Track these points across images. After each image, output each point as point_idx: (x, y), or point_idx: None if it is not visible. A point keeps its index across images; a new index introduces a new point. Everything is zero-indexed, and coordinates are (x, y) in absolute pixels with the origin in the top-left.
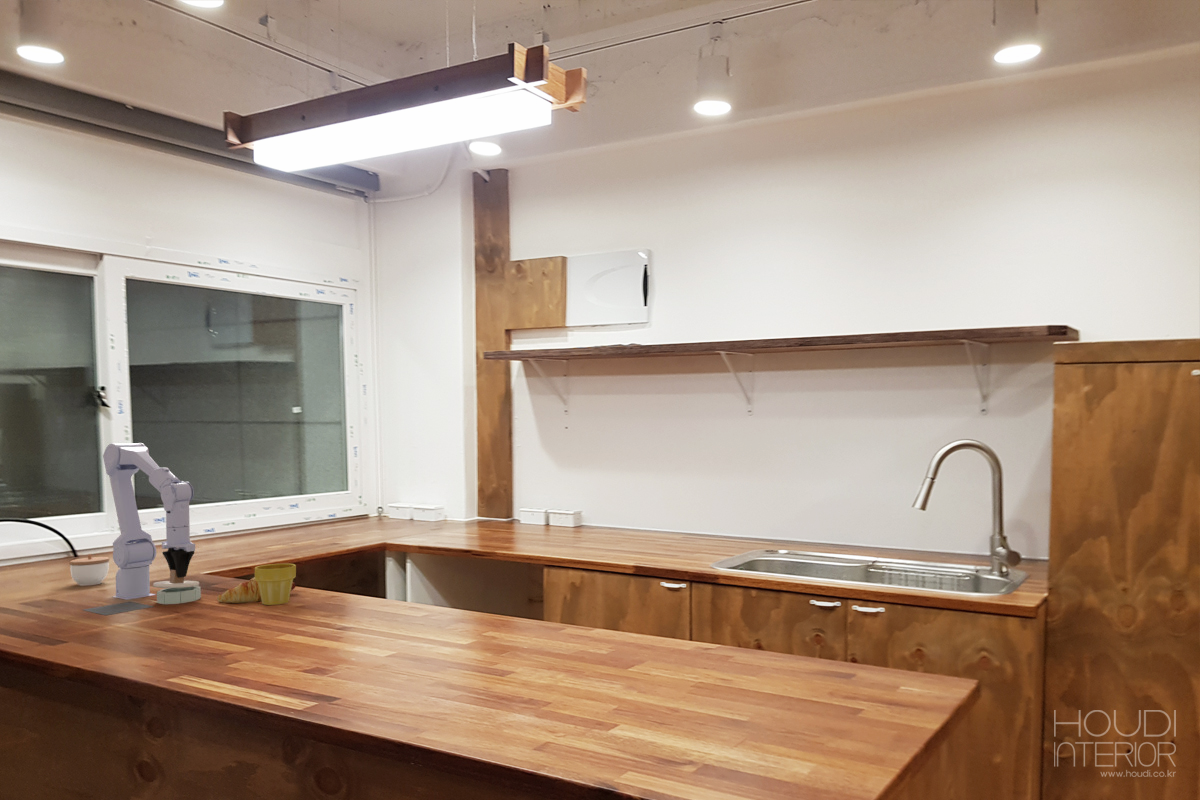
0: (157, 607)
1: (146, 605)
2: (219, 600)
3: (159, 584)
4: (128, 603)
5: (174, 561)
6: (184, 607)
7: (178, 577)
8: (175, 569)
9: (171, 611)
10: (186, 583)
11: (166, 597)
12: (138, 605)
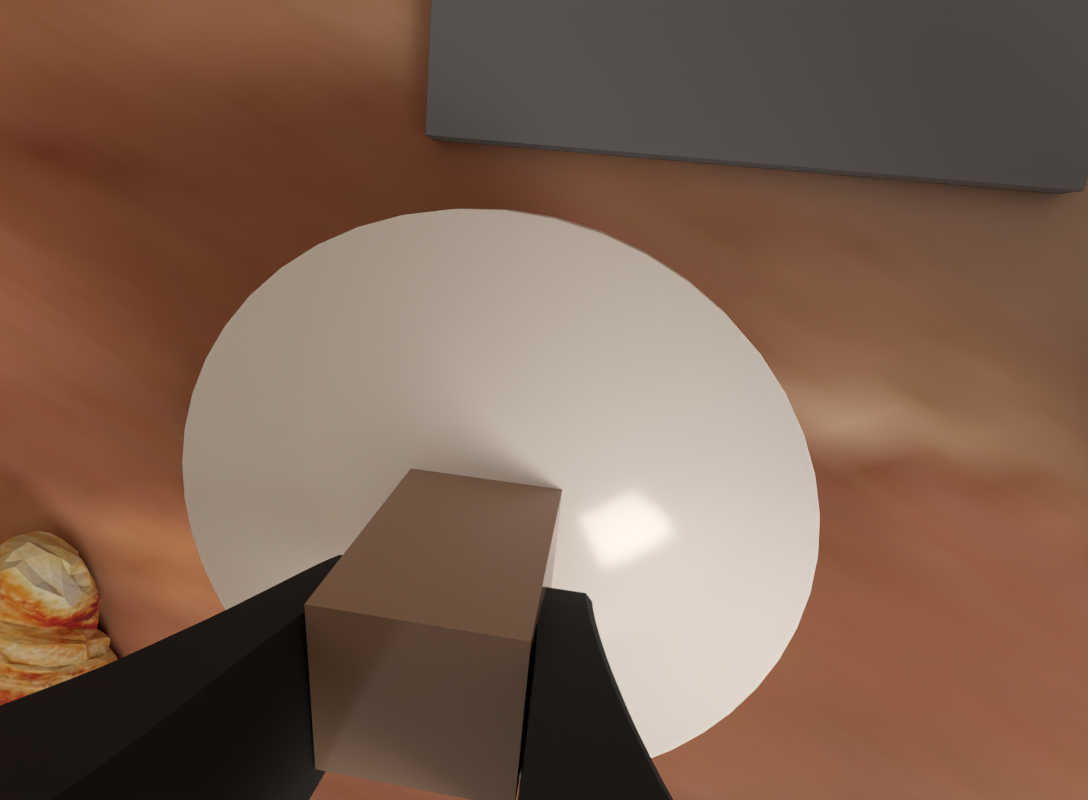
0: (483, 207)
1: (579, 127)
2: (21, 535)
3: (395, 219)
4: (965, 97)
5: (88, 757)
6: (222, 326)
7: (339, 556)
8: (473, 707)
9: (137, 144)
10: (291, 558)
11: None
12: (683, 79)
